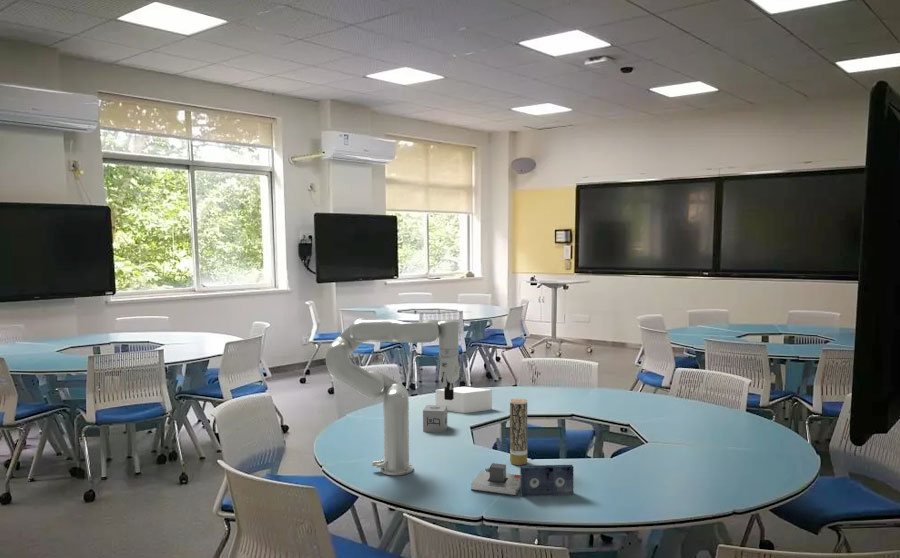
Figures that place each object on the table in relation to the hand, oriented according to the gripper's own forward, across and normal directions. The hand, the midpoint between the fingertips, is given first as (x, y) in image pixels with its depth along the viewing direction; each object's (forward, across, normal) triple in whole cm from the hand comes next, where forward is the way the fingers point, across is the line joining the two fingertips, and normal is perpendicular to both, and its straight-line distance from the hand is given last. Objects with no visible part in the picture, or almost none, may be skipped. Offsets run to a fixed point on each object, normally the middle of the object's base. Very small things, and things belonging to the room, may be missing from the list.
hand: (449, 399), depth 230 cm
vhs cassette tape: (+27, -12, -40) cm, 50 cm away
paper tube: (+27, +14, -24) cm, 39 cm away
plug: (+27, -11, -22) cm, 37 cm away
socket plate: (+27, -11, -22) cm, 37 cm away
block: (+28, +84, +22) cm, 91 cm away
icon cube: (+27, +46, +24) cm, 59 cm away
